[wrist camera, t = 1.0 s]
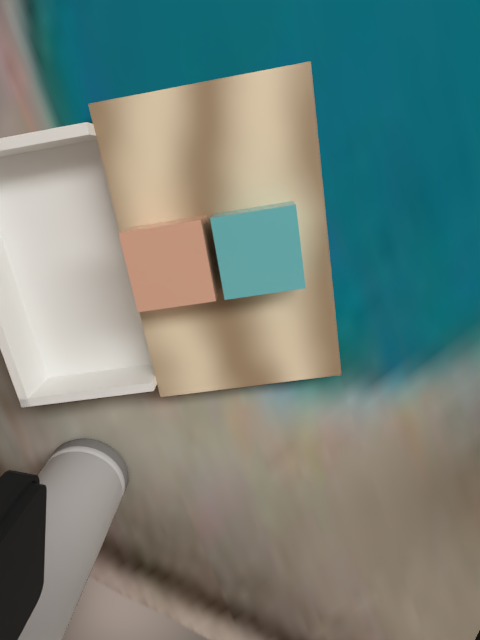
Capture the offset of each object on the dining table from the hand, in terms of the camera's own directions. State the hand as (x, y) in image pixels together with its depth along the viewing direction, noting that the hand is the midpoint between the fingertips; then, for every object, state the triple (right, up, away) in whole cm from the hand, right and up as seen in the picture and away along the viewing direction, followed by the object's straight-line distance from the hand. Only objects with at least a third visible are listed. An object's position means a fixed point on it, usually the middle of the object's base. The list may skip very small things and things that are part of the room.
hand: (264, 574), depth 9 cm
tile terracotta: (-4, +9, +18) cm, 20 cm away
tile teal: (+1, +9, +17) cm, 20 cm away
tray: (-12, +9, +21) cm, 25 cm away
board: (-1, +10, +20) cm, 22 cm away
